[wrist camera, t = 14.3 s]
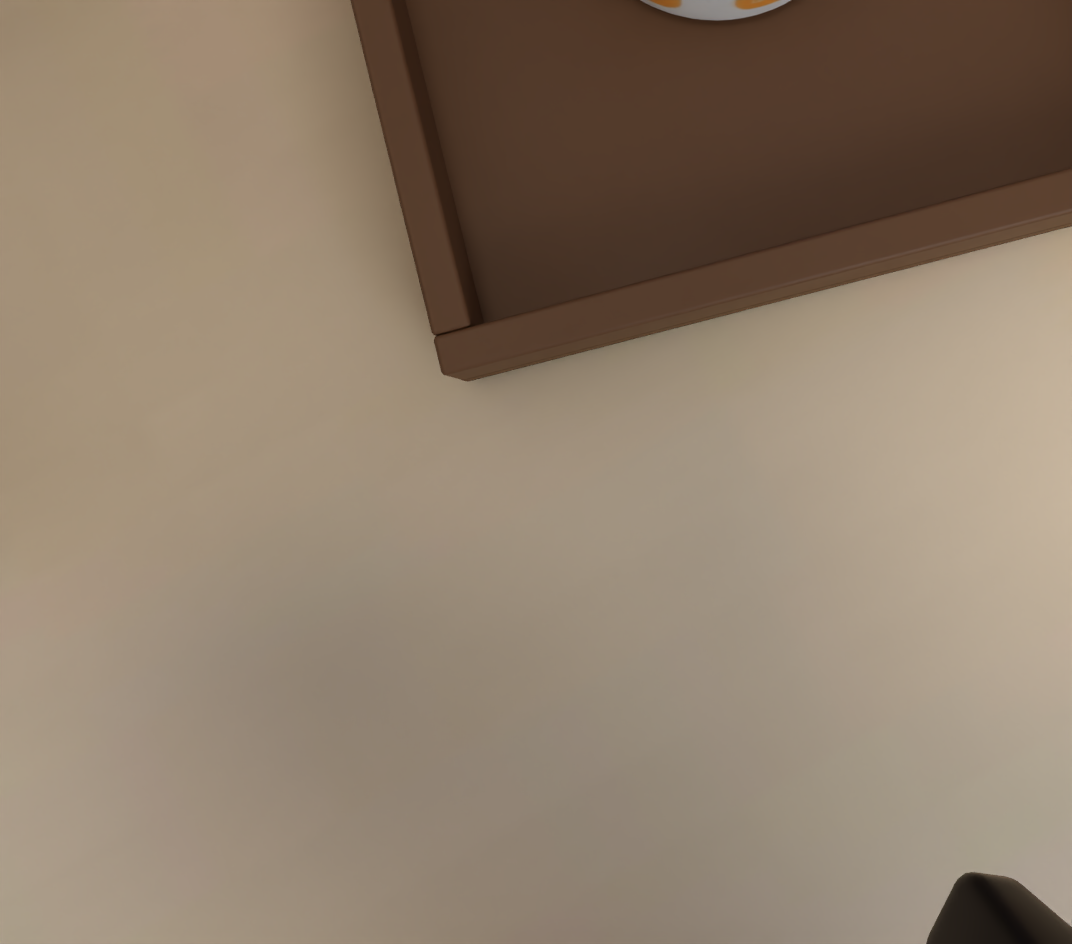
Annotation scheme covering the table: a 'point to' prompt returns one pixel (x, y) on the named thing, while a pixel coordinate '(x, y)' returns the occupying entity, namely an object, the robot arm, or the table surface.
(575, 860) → the table surface
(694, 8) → the pill bottle
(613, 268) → the tray
